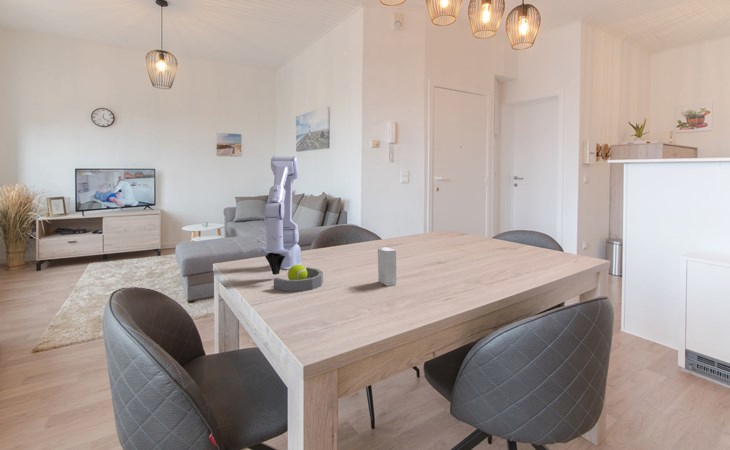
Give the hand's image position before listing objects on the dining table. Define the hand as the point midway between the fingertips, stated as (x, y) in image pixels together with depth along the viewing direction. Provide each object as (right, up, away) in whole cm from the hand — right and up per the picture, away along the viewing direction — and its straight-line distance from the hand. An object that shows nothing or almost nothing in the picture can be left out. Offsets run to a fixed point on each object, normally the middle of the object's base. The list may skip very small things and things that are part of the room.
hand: (275, 273), depth 134 cm
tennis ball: (+9, -3, -5) cm, 11 cm away
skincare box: (+40, -3, -4) cm, 40 cm away
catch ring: (+11, -3, -7) cm, 13 cm away
